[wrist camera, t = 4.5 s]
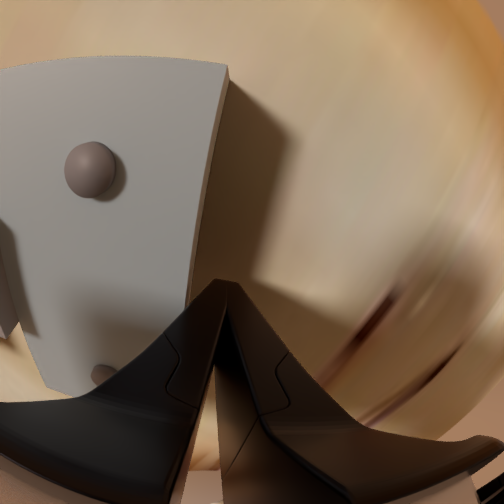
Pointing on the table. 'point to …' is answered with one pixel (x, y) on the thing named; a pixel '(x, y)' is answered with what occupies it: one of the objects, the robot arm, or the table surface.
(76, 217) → the leaf
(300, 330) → the table surface
